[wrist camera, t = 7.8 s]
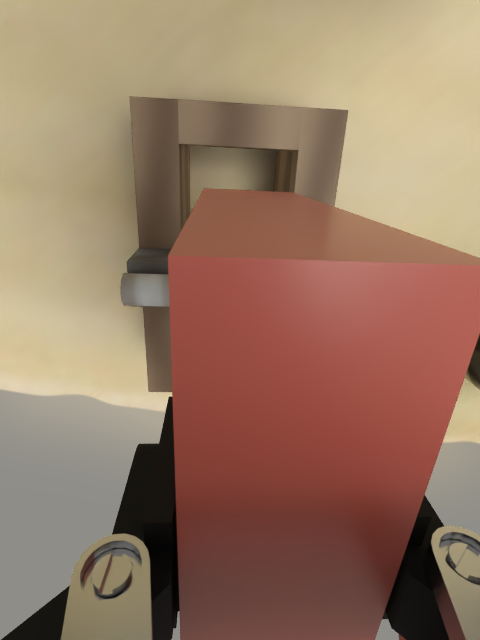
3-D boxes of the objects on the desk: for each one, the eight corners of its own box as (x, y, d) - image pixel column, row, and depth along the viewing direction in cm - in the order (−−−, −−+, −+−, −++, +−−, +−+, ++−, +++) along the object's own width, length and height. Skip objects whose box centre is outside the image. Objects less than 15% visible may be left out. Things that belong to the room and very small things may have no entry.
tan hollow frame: (311, 125, 33) (388, 93, 18) (287, 341, 41) (326, 439, 27) (154, 116, 32) (101, 74, 17) (164, 340, 40) (134, 440, 26)
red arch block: (292, 192, 16) (503, 265, 4) (270, 423, 21) (337, 748, 9) (204, 188, 16) (167, 255, 4) (202, 423, 21) (184, 759, 9)
